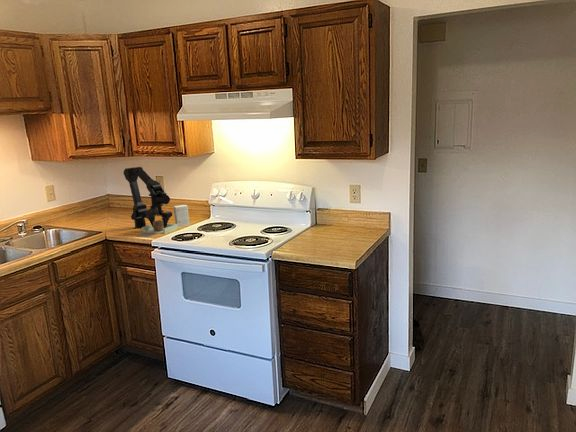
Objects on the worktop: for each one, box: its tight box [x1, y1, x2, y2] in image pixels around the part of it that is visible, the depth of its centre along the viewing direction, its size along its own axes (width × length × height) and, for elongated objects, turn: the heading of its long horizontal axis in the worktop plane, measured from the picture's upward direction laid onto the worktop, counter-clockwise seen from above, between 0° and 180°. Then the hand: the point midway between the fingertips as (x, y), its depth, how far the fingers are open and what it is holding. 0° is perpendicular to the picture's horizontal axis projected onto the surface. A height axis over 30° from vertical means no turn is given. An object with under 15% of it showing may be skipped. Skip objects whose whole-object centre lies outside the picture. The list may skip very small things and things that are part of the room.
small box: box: [173, 204, 191, 228], centre depth 306 cm, size 8×6×13 cm
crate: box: [141, 223, 179, 234], centre depth 295 cm, size 18×12×3 cm, turn 64°
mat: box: [136, 232, 159, 238], centre depth 285 cm, size 10×9×1 cm
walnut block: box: [153, 219, 164, 231], centre depth 295 cm, size 5×5×6 cm
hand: (159, 227), depth 295 cm, fingers open, 9 cm apart
